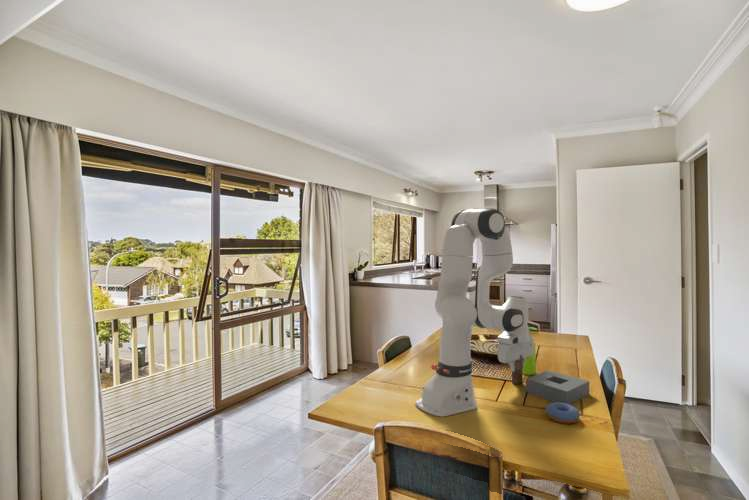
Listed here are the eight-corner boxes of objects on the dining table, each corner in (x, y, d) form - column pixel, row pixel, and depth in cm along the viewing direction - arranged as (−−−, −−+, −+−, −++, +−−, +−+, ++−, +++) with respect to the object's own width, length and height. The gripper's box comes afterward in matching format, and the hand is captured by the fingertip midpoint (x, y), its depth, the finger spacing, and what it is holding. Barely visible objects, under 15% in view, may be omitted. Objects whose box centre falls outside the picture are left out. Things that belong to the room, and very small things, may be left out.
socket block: (567, 405, 134) (567, 391, 134) (525, 391, 147) (525, 378, 147) (589, 394, 143) (589, 381, 143) (548, 382, 156) (548, 370, 156)
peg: (518, 386, 153) (518, 356, 152) (510, 383, 156) (509, 353, 156) (524, 383, 155) (524, 354, 155) (515, 380, 158) (515, 351, 158)
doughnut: (579, 427, 118) (578, 412, 118) (544, 422, 123) (543, 407, 123) (580, 417, 127) (579, 403, 127) (547, 413, 131) (546, 399, 132)
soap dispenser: (536, 376, 163) (535, 329, 163) (519, 373, 167) (519, 327, 167) (539, 372, 168) (539, 327, 167) (523, 369, 172) (523, 325, 171)
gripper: (524, 330, 164) (525, 362, 164) (494, 338, 152) (495, 372, 152) (538, 333, 159) (538, 366, 159) (508, 341, 147) (508, 377, 147)
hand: (517, 369), depth 155 cm, fingers closed on peg, 4 cm apart
